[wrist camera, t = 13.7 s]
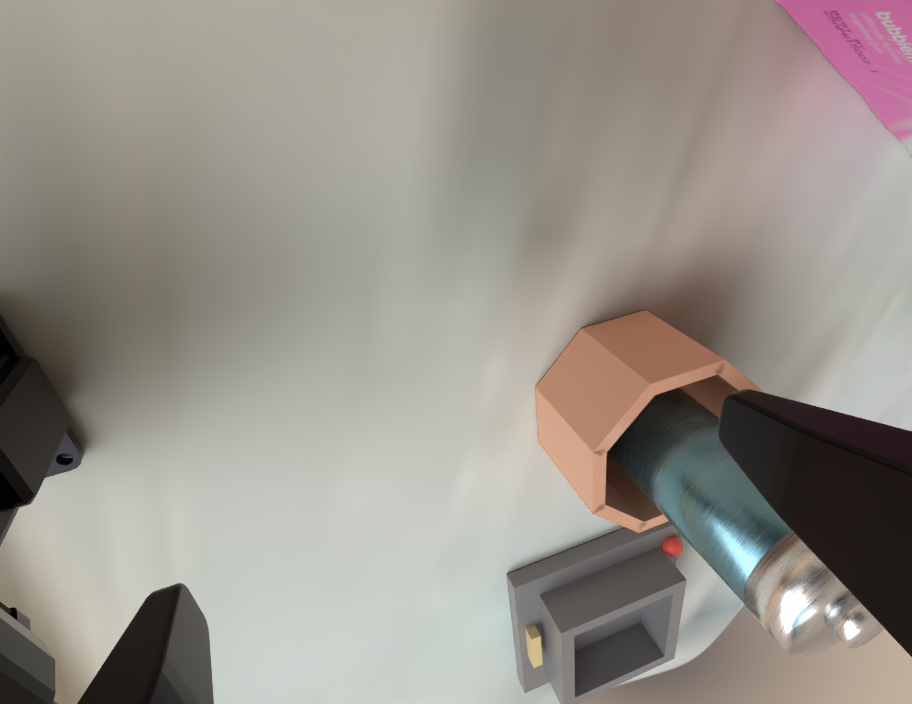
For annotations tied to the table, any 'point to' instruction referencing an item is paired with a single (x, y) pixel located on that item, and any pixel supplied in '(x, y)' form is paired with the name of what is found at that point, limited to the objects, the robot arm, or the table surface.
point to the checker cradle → (598, 612)
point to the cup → (621, 404)
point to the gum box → (866, 51)
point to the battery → (737, 527)
